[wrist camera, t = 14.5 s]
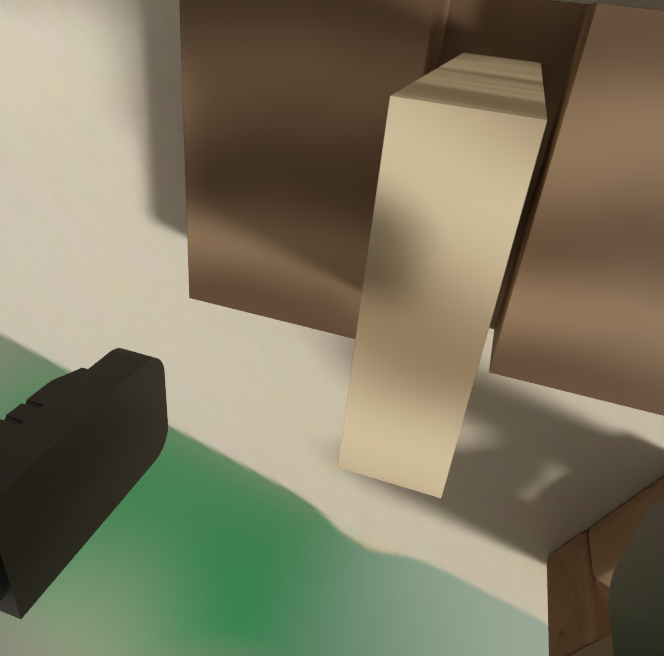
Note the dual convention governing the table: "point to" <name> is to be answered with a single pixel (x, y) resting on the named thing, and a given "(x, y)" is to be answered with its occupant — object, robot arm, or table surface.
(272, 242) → the slotted plate
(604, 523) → the wooden toy block structure
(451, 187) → the maple slat
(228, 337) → the table surface
